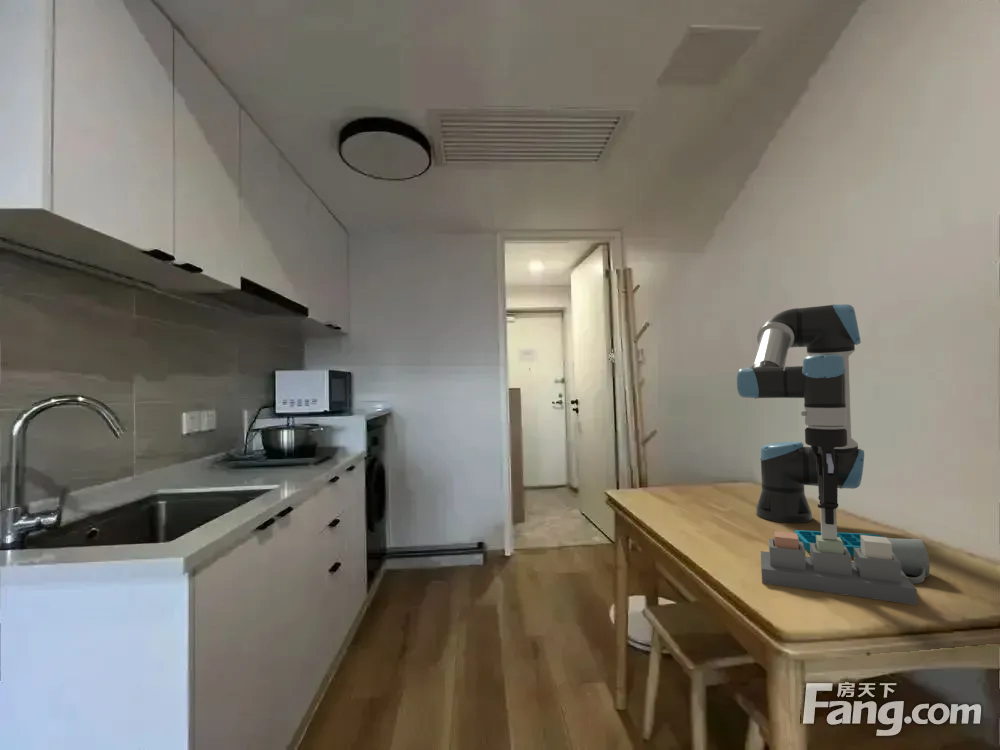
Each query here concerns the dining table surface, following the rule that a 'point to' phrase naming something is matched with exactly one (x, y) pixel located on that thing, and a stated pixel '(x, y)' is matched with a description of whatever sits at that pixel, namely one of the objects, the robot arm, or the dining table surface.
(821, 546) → the sage key
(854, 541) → the ice cube tray
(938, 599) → the dining table surface
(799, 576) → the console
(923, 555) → the ceramic mug
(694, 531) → the dining table surface
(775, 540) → the terracotta key
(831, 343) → the robot arm
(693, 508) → the dining table surface
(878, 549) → the ivory key
